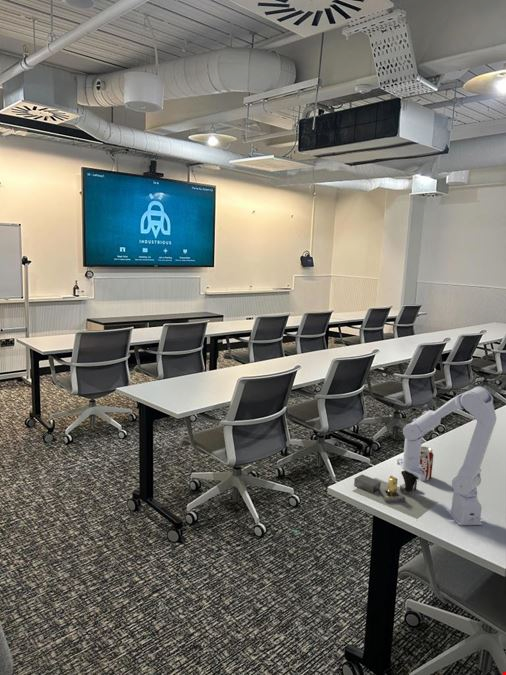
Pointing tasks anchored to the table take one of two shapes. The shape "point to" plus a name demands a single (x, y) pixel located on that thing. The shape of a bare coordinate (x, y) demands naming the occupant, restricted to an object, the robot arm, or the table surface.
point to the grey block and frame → (374, 486)
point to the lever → (403, 490)
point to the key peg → (392, 486)
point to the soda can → (426, 462)
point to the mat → (412, 506)
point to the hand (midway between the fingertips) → (408, 490)
